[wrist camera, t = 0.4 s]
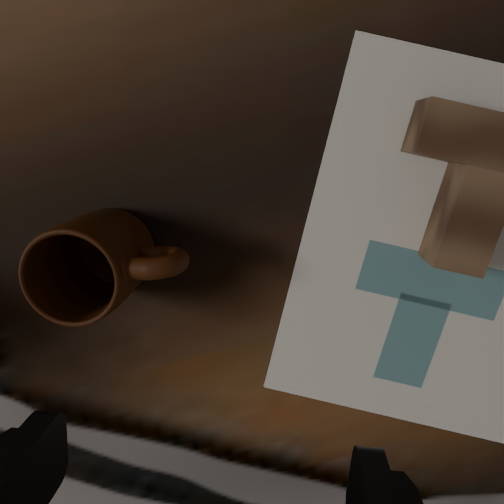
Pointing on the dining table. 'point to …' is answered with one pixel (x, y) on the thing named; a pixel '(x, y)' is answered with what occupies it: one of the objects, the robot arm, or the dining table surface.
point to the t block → (461, 182)
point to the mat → (392, 259)
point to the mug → (93, 266)
